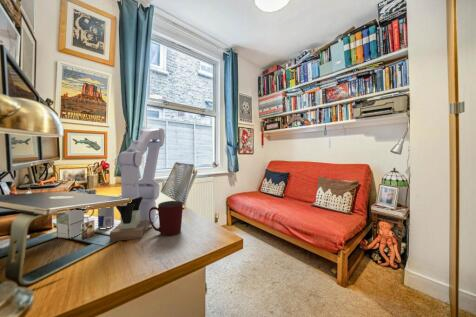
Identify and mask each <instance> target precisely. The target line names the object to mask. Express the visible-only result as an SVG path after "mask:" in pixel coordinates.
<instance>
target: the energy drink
mask: <svg viewBox="0 0 476 317" xmlns="http://www.w3.org/2000/svg"><path fill="white" fill-rule="evenodd" d="M113 225H114V226H115V206H114V207H110V208H101V209H98V208H97V229H99V228H107V227H111V226H113ZM114 226H113V227H114ZM111 228H112V227H111Z"/></svg>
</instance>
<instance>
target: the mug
mask: <svg viewBox="0 0 476 317" xmlns="http://www.w3.org/2000/svg"><path fill="white" fill-rule="evenodd" d="M183 206H184V203H183V201H180V200H167V201H163V202H159V203H158V204H157V206H156V207H152V208H151V209H150V210H149V220H150V223H149V224H150V225H151V227H152V229H153V230H154V231H156V232H159V233H160V235H161V236H163V237H172V236H177V235H179V234H180V233H181V232H182V224H183V223H182V222H183V221H182V220H183V209H184V208H183ZM154 209H156V212H157V213H158V214H157V215H158V223H159V225H158V226H159V227H156V226H155V225H154V222H153V223H152V221H151V217H150V212H151V211H152V210H154Z"/></svg>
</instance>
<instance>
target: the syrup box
mask: <svg viewBox="0 0 476 317" xmlns="http://www.w3.org/2000/svg"><path fill="white" fill-rule="evenodd" d="M55 216H56V217H55V218H56V220H55V221H56V238H57V237H58V238H59V239H67V240H68V239H69V238H70V239H72V238H71V237H73V238H75V237H74V236H76V237H78V236H80V235H82V234H81V224H82V223H84V224H85V210H84V211H82V210H74V211H69V212H63V213H59V214H56V213H55ZM79 234H80V235H79ZM77 235H78V236H77ZM70 239H69V240H70Z"/></svg>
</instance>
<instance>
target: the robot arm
mask: <svg viewBox="0 0 476 317" xmlns="http://www.w3.org/2000/svg"><path fill="white" fill-rule="evenodd" d="M139 134H140V135H139V138H138V139H137V140H133V141H132V143H131V144H130V146H128V148H127V149H126V150H125V151H121V152H120V153H118V156H117V159H116V161H117V165H118V168H119V169H118V170H119V172H120V180H121V184H120V187H121V190H120V191H121V195H118V196H117V198H118V197H122V198H129V199H132V202H131V203H127V204H124V205H121V206H115V208H116V209H117V211H118V212H119V214H120V218H121V217H122V221H123V224H130V223H131V218H132V212H133V211H137V210H140V221H146V220H149V210H150V209H151V208H152V207H157V202H156V201H157V199H159V197H160V184H159V182H158V181H156V179H155V176H156V171H157V165H158V164H157V163H158V159H159V155H160V154H159V153H160V148H162V147H163V146H164V142H165V136H166V134H165V130H164V128H163V127H162V126H160V127H151V126H150V127H147V126H142V127H141V129H140V130H139ZM146 151H147V155H146V158H145V163H144V164H145V165H144V167H143V168H144V169H143V174H142V178H141V179H140V166H141V165H142V162H143V161H142V160H143V156H144V154H145V152H146ZM150 217H151V221H152V223H153V224H154V222H156V220H157V218H159V214H157V210H156V209H154V210H152V211H151V212H150ZM149 224H151V223H150V220H149Z"/></svg>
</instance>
